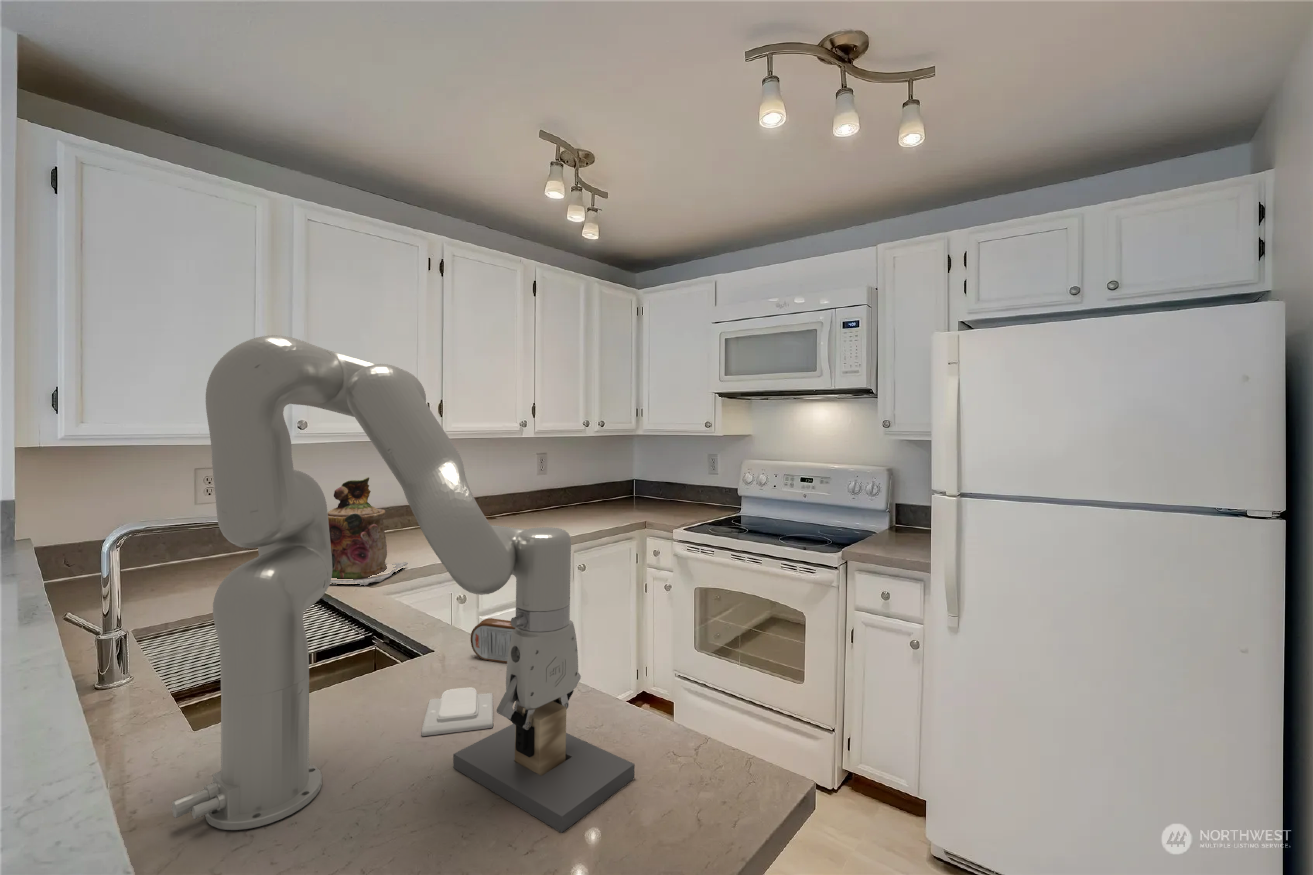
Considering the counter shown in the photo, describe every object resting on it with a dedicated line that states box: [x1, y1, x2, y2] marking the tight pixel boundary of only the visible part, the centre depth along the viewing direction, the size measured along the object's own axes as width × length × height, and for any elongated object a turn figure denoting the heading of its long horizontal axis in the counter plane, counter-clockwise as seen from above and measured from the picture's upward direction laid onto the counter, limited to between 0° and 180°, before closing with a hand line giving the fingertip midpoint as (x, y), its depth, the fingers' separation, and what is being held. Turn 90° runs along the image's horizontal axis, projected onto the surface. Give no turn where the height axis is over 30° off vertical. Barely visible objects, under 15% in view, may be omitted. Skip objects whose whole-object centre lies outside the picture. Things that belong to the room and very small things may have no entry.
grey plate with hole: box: [452, 723, 636, 834], centre depth 83 cm, size 14×22×2 cm, turn 53°
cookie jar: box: [327, 476, 409, 587], centre depth 188 cm, size 25×25×32 cm
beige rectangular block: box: [515, 701, 567, 776], centre depth 83 cm, size 5×5×8 cm
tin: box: [470, 617, 515, 664], centre depth 122 cm, size 15×3×8 cm, turn 74°
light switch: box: [421, 686, 494, 737], centre depth 99 cm, size 11×4×13 cm
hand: (540, 743), depth 83 cm, fingers closed on beige rectangular block, 5 cm apart
